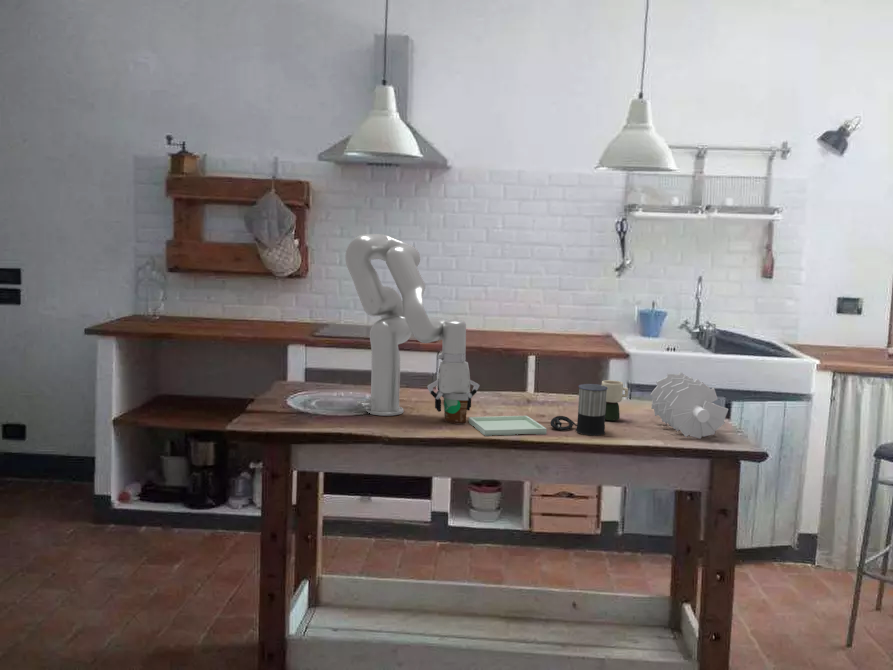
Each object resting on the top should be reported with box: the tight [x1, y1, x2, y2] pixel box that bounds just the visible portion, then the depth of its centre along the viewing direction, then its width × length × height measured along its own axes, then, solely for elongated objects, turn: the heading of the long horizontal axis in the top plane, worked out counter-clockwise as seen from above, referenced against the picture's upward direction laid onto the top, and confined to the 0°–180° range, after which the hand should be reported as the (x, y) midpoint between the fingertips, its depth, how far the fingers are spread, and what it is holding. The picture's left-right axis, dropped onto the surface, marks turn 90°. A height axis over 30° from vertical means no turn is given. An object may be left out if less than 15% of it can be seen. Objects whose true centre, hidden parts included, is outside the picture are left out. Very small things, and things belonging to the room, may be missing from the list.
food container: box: [441, 393, 468, 424], centre depth 306 cm, size 12×6×10 cm, turn 23°
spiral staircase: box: [650, 371, 729, 440], centre depth 302 cm, size 18×18×25 cm
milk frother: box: [550, 383, 608, 436], centre depth 298 cm, size 14×16×15 cm
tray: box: [468, 415, 547, 437], centre depth 299 cm, size 20×18×2 cm
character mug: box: [601, 379, 629, 421], centre depth 315 cm, size 11×7×13 cm, turn 94°
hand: (453, 410), depth 306 cm, fingers open, 9 cm apart
